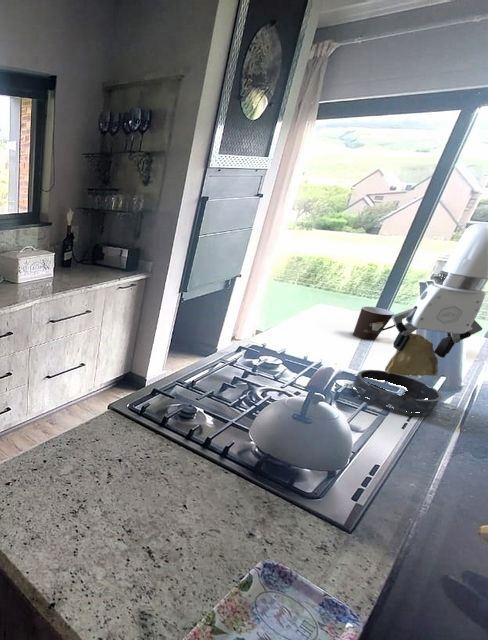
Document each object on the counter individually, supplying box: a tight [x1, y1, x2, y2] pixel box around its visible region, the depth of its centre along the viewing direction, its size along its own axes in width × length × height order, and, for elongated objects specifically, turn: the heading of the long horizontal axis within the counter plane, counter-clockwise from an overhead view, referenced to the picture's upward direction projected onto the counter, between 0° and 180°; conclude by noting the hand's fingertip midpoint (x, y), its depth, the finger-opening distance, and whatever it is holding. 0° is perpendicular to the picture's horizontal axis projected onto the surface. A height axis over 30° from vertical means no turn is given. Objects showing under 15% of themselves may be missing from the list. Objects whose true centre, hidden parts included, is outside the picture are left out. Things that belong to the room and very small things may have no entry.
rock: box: [384, 332, 439, 377], centre depth 101 cm, size 11×9×10 cm
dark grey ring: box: [350, 369, 443, 417], centre depth 105 cm, size 16×16×4 cm
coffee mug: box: [352, 305, 396, 342], centre depth 142 cm, size 12×9×10 cm
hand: (418, 351), depth 100 cm, fingers closed on rock, 7 cm apart
